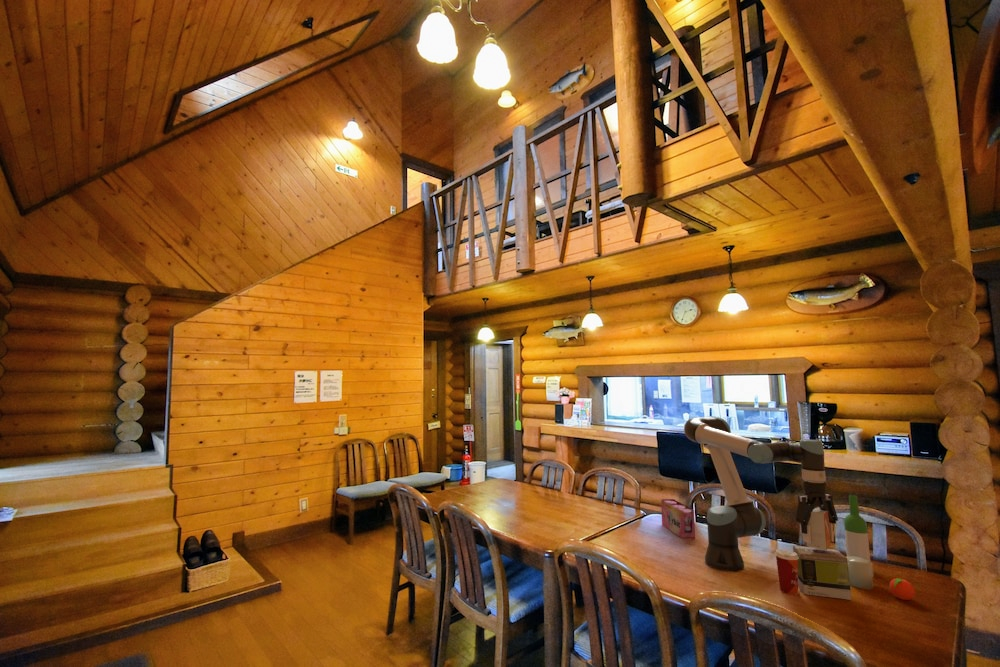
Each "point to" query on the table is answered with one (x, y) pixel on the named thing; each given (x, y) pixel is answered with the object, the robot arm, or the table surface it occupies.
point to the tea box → (823, 572)
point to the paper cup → (787, 571)
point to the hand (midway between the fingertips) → (818, 541)
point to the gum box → (678, 518)
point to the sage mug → (860, 572)
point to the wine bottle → (856, 532)
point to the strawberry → (902, 589)
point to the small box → (819, 529)
